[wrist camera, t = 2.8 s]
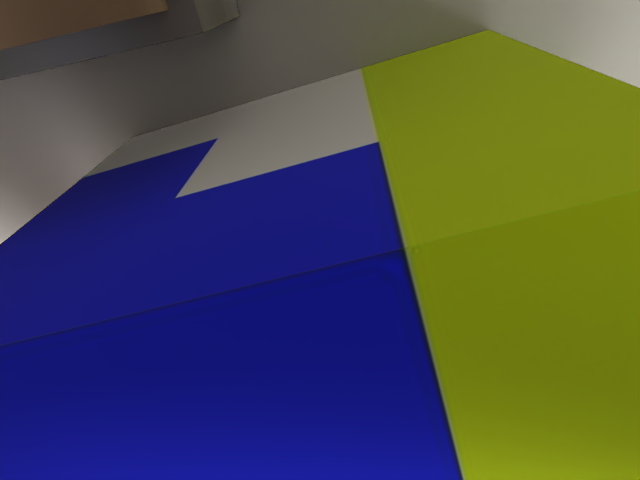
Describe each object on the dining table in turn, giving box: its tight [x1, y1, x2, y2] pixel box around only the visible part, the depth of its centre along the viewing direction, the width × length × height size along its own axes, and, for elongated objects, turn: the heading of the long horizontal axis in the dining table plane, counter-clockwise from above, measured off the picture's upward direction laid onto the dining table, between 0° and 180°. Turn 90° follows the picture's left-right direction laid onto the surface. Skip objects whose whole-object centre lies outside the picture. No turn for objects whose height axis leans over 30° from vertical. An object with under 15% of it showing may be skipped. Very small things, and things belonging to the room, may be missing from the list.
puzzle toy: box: [0, 30, 640, 480], centre depth 12 cm, size 10×10×10 cm
